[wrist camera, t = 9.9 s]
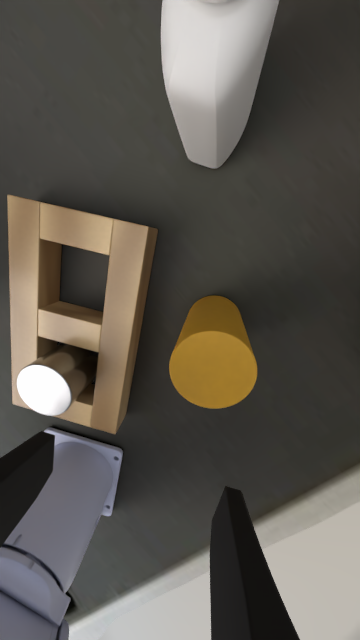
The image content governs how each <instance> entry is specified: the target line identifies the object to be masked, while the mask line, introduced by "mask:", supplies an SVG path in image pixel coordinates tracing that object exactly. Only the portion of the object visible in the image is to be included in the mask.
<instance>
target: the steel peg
mask: <svg viewBox="0 0 360 640" xmlns="http://www.w3.org/2000/svg"><path fill="white" fill-rule="evenodd" d="M98 356H99V352H95V351H91V350H88V349H84V348H80V347H77V346H73V345H69V344H65V343H61V344H60V345H58V346H57V347H55V348H54V349H52V350H51V351H49V352H48V353H46V354H44V355H43V356H41V357H40V358H38V359H37V360H35V361H34V362H32V363H30V364H29V365H27V366H26V367H24V368H23V369H22V370H21V371H20V373H19V374H18V377H17V390H18V392H19V395H20V397H21V398H22V400H23V401H24V402H25V403H26V404H27V405H28V406H29V407H30V408H31V409H33V410H34V411H36V412H38V413H40V414H43V415H48V416H56V415H60V414H62V413H64V412H65V411H67V410H68V409H69V407H70V406H71V405H72V404H73V403H74V402H75V401H76V400H77V399H78V397H79V396H80V395H81V394H82V393H83V392H84V391H85V390H86V389H87V387H88V386H89V385H90V384H91V383H92V382H93V381H94V380H95V378H96V373H97V364H98Z"/></svg>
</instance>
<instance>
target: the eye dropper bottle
mask: <svg viewBox="0 0 360 640" xmlns="http://www.w3.org/2000/svg"><path fill="white" fill-rule="evenodd" d="M278 3H279V0H163V2H162V17H161V54H162V68H163V75H164V82H165V88H166V92H167V96H168V99H169V103H170V106H171V109H172V112H173V115H174V118H175V121H176V125H177V128H178V131H179V134H180V137H181V140H182V143H183V146H184V149H185V152H186V154H187V157H188V159H189V160H191V161H192V162H194V163H197V164H200V165H203V166H205V167H208V168H218V167H220V166H221V165H222V164H223V163H224V162H225V161H226V160H227V158H228V157H229V156H230V154H231V153H232V151H233V150H234V148H235V147H236V145H237V143H238V141H239V139H240V137H241V135H242V133H243V131H244V129H245V126H246V124H247V121H248V118H249V115H250V111H251V107H252V104H253V100H254V96H255V92H256V88H257V84H258V81H259V77H260V73H261V69H262V65H263V61H264V57H265V54H266V50H267V46H268V42H269V38H270V34H271V30H272V26H273V23H274V19H275V15H276V11H277V7H278Z"/></svg>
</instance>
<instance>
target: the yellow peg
mask: <svg viewBox="0 0 360 640" xmlns="http://www.w3.org/2000/svg"><path fill="white" fill-rule="evenodd" d="M169 372H170V377H171V380H172V382H173V385H174V386H175V388H176V389H177V391H178V392H179V393H180V394H181V395H182V396H183V397H184V398H185V399H187V400H188V401H190V402H191V403H193V404H196V405H198V406H201V407H205V408H225V407H229V406H232V405H234V404H236V403H238V402H240V401H241V400H243V399H244V398H245V397H246V396H247V395H248V394H249V393H250V391H251V390H252V388H253V387H254V384H255V382H256V378H257V363H256V360H255V357H254V354H253V351H252V348H251V345H250V342H249V339H248V336H247V333H246V330H245V327H244V324H243V321H242V318H241V315H240V312H239V310H238V308H237V307H236V305H235V304H234V303H233V302H232V301H230V300H229V299H227V298H225V297H222V296H215V295H213V296H207V297H204V298H201V299H200V300H198V301H197V302H196V303H195V304H194V305H193V306H192V307H191V309H190V311H189V313H188V316H187V318H186V321H185V323H184V326H183V328H182V330H181V333H180V335H179V338H178V340H177V343H176V345H175V348H174V350H173V353H172V355H171V358H170V363H169Z"/></svg>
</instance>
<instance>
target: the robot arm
mask: <svg viewBox="0 0 360 640" xmlns="http://www.w3.org/2000/svg"><path fill="white" fill-rule="evenodd" d="M122 456H123V451H122V449H120V448H118V447H115V446H111V445H108V444H105V443H101V442H98V441H95V440H91V439H88V438H85V437H81V436H78V435H75V434H71V433H68V432H65V431H61V430H58V429H54V428H51V427H48V428H47V429H46V430H45V431H44V432H43V431H41V432H39V433H37V434H36V435H34V436H33V437H31V438H30V439H28V440H27V441H25V442H24V443H22V444H21V445H19V446H18V447H16V448H15V449H13V450H12V451H10V452H9V453H7V454H6V455H4V456H3V457H1V458H0V640H68V637H69V626H68V623H67V621H66V620H64V619H63V617H64V614H65V612H66V609H67V607H68V605H69V602H70V597H68V596H67V595H65V593H66V592H67V590H68V589H69V587H70V585H71V584H72V582H73V580H74V577H75V575H76V573H77V570H78V568H79V566H80V563H81V561H82V559H83V556H84V554H85V552H86V549H87V547H88V545H89V542H90V540H91V538H92V535H93V533H94V531H95V528H96V526H97V523H98V521H99V519H100V516H101V514H102V515H105V516H110V515H111V514H112V511H113V506H114V500H115V495H116V489H117V484H118V478H119V473H120V467H121V462H122ZM210 593H211V640H300V639H299V637H298V635H297V632H296V630H295V628H294V626H293V624H292V622H291V619H290V617H289V615H288V612H287V610H286V608H285V606H284V603H283V601H282V599H281V596H280V594H279V592H278V589H277V587H276V584H275V582H274V580H273V577H272V575H271V572H270V570H269V567H268V565H267V562H266V559H265V557H264V554H263V552H262V549H261V546H260V544H259V541H258V538H257V535H256V533H255V530H254V527H253V524H252V521H251V518H250V515H249V512H248V509H247V506H246V503H245V500H244V497H243V494H242V492H241V491H240V490H237V489H233V488H230V487H227V486H225V489H224V491H223V494H222V496H221V499H220V501H219V504H218V506H217V509H216V511H215V514H214V517H213V519H212V528H211V543H210Z"/></svg>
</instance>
